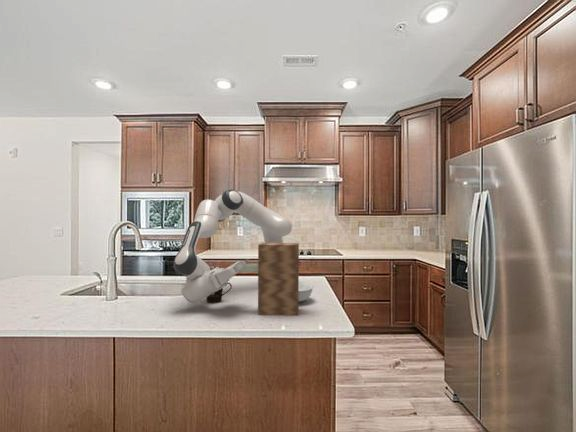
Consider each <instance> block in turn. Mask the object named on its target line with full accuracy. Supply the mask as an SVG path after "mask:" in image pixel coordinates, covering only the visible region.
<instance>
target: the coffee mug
mask: <svg viewBox="0 0 576 432" xmlns="http://www.w3.org/2000/svg"><path fill="white" fill-rule="evenodd" d="M227 283H228V284H227V285H229V287H230V288H228V290H226V291H225V292H223V289H224V288H222V289H220V290H218V291H216V292H213V293H211V294H210V295H209V296H208V297H206V302H207V303H208V304H216V303H217V304H218V303H222V298H223V296H224V295H226V294H227V293H229V292H230V291H231V289H232V287H233V286H232V284H231V282H229V281H228V282H227Z"/></svg>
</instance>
